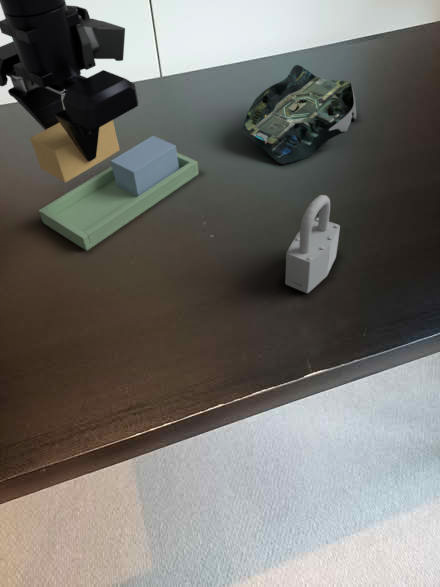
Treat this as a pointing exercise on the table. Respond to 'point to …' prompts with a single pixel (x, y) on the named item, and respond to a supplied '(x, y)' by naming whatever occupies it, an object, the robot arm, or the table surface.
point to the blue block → (145, 165)
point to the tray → (108, 205)
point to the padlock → (312, 247)
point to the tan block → (70, 151)
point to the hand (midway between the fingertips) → (78, 152)
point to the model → (300, 115)
